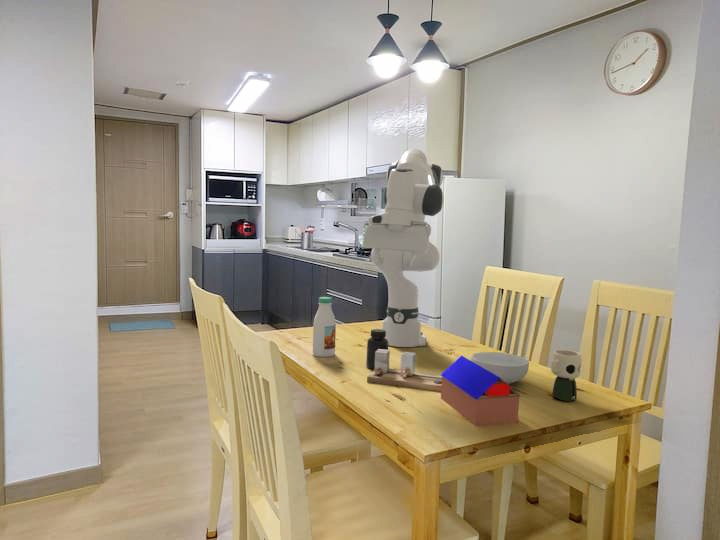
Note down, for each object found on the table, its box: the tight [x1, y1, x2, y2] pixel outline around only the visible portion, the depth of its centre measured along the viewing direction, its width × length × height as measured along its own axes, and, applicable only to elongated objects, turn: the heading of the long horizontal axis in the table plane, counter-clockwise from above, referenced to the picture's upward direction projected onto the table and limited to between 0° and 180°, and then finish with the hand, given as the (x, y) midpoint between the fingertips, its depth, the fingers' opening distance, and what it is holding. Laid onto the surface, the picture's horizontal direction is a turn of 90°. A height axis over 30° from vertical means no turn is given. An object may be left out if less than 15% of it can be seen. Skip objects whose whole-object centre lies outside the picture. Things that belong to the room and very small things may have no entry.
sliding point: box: [400, 351, 416, 378], centre depth 158 cm, size 7×4×6 cm, turn 163°
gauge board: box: [366, 349, 442, 392], centre depth 157 cm, size 11×27×8 cm, turn 73°
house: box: [440, 355, 521, 427], centre depth 136 cm, size 12×20×12 cm, turn 16°
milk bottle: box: [312, 296, 337, 358], centre depth 183 cm, size 8×8×20 cm
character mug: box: [550, 349, 582, 402], centre depth 146 cm, size 11×7×13 cm, turn 117°
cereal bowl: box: [470, 351, 530, 385], centre depth 161 cm, size 17×17×7 cm
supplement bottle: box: [365, 328, 389, 370], centre depth 171 cm, size 7×7×12 cm
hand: (394, 265), depth 165 cm, fingers open, 8 cm apart
